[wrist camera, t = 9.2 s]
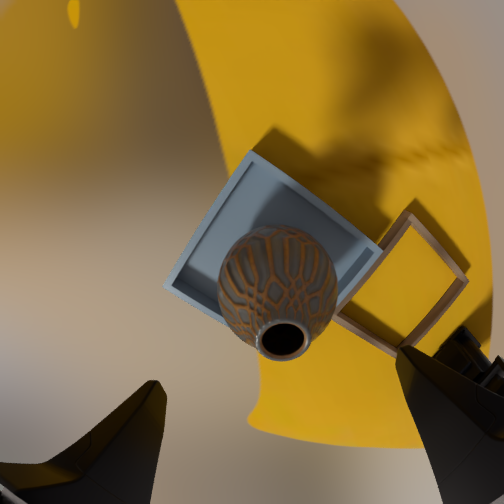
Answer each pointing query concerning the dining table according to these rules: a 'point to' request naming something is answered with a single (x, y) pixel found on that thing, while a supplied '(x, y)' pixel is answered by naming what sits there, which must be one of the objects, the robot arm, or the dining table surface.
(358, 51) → the dining table surface
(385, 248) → the walnut frame
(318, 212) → the slate tray
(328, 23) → the dining table surface
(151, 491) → the robot arm
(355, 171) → the dining table surface
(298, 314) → the vase
